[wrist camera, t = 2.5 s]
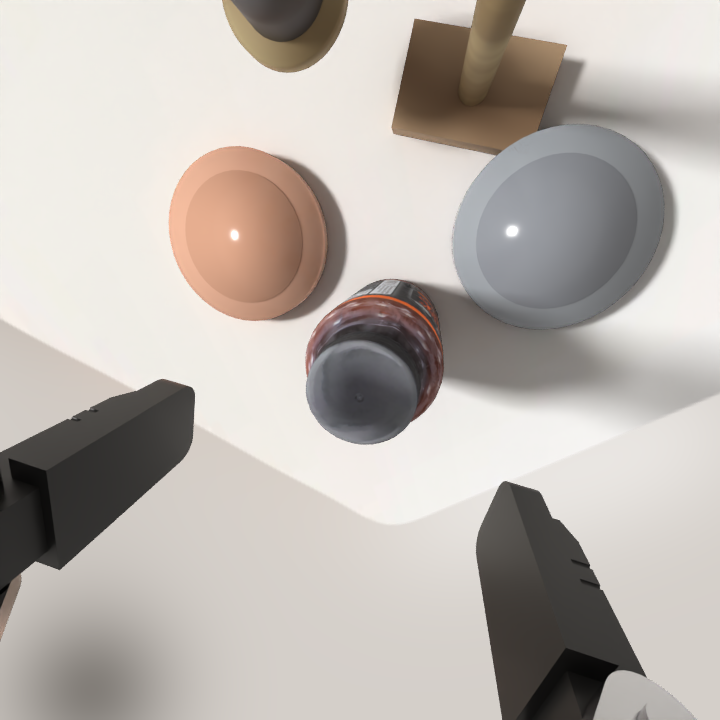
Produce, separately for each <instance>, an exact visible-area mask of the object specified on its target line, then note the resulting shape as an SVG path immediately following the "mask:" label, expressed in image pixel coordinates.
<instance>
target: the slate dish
mask: <svg viewBox="0 0 720 720" xmlns="http://www.w3.org/2000/svg"><path fill="white" fill-rule="evenodd" d="M522 142H523V143H522ZM520 143H521V145H520ZM513 144H514V145H513ZM513 144H512V145H510V146H509V147H507V148H506V149H505V150H503V151H502V152H501V153H499V154H498V155H497V156H496V157H495V158H494V159H493V160H492V161H491V162H490V163H489V164H487V165H486V167H485V168H484V169H483V170H482V171H481V173H480V174H479V175H478V176H477V177H476V179H475V180H474V181H473V183H472V184H471V186H470V187H469V189H468V190H467V192H466V194H465V196H464V198H463V200H462V202H461V204H460V207H459V209H458V212H457V215H456V219H455V223H454V227H453V235H452V254H453V260H454V265H455V268H456V272H457V275H458V277H459V279H460V281H461V284H462V285H463V287H464V288H465V290H466V291H467V293H468V294H469V296H470V297H471V298H472V299H473V300H474V302H475V303H476V304H477V305H478V306H479V307H480V308H482V309H483V310H484V311H485V312H486V313H488V314H489V315H491V316H493V317H494V318H496V319H498V320H500V321H502V322H504V323H507V324H510V325H513V326H516V327H522V328H527V329H554V328H560V327H565V326H569V325H572V324H576V323H579V322H581V321H584V320H586V319H589V318H591V317H593V316H595V315H597V314H598V313H600V312H602V311H604V310H605V309H607V308H608V307H610V306H611V305H613V304H614V303H615V302H616V301H618V300H619V299H620V298H621V297H622V296H623V295H625V294H626V293H627V292H628V291H629V290H630V288H631V287H632V286H633V285H634V284H635V283H636V282H637V281H638V279H639V278H640V277H641V275H642V274H643V273H644V271H645V270H646V268H647V266H648V264H649V263H650V261H651V259H652V257H653V255H654V253H655V250H656V248H657V246H658V243H659V239H660V236H661V233H662V227H663V221H664V197H663V190H662V186H661V183H660V179H659V176H658V174H657V172H656V170H655V168H654V166H653V164H652V163H651V161H650V160H649V158H648V157H647V156H646V154H645V153H644V152H643V151H642V150H641V149H640V148H639V147H638V146H637V145H636V144H635V143H633V142H632V141H631V140H629V139H628V138H626V137H625V136H623V135H621V134H619V133H617V132H615V131H612V130H610V129H606V128H603V127H599V126H594V125H586V124H567V125H561V126H555V127H550V128H547V129H544V130H540V131H537V132H535V133H533V134H530V135H528V136H526V137H523V138H522V139H520V140H518V141H517V142H515V143H513ZM528 144H529V145H528ZM516 149H517V150H516ZM525 152H526V153H525Z"/></svg>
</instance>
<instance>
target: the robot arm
mask: <svg viewBox="0 0 720 720" xmlns="http://www.w3.org/2000/svg"><path fill="white" fill-rule="evenodd" d="M194 405H195V392H194V390H193V388H191V387H189V386H186V385H182V384H179V383H176V382H172V381H169V380H166V379H160V380H157V381H155V382H153V383H152V384H150V385H148V386H146V387H144V388H142V389H140V390H138V391H134V392H130V393H126V394H123V395H119V396H115V397H111V398H109V399H107V400H105V401H103V402H101V403H99V404H97V405H95V406H93V407H91V408H90V410H89V411H87V410H85V411H83V412H81V413H79V414H77V415H75V416H73V417H72V419H71V420H69V419H67V420H65V421H63V422H61V423H59V424H57V425H55V426H53V427H51V428H49V429H47V430H44V431H42V432H40V433H38V434H36V435H35V436H33V437H30V438H29V439H26V440H24V441H22V442H20V443H18V444H16V445H14V446H13V447H10V448H8V449H6V450H4V451H2V452H0V640H1V637H2V635H3V632H4V629H5V627H6V624H7V621H8V618H9V616H10V613H11V610H12V608H13V605H14V602H15V600H16V596H17V594H18V591H19V589H20V585H21V573H22V572H23V571H24V570H25V569H26V568H28V567H29V566H30V565H31V564H33V563H34V562H35V561H36V562H39V563H42V564H45V565H47V566H50V567H53V568H56V569H58V570H60V569H61V568H62V567H64V566H65V565H66V564H67V563H68V562H69V561H70V560H71V559H73V558H74V557H75V556H76V555H77V554H78V553H79V552H80V551H81V550H82V549H84V548H85V547H86V546H87V545H88V544H89V543H90V542H91V541H93V540H94V538H96V537H97V536H98V535H99V534H100V533H101V532H103V531H104V530H105V529H106V528H107V527H108V526H109V525H110V524H112V523H113V522H114V521H115V520H116V519H117V518H118V517H119V516H120V515H122V514H123V513H124V512H125V511H126V510H127V509H128V508H129V507H130V506H132V505H133V504H134V503H135V502H136V501H137V500H138V499H139V498H140V497H142V496H143V495H144V494H145V493H146V492H147V491H148V490H149V489H151V488H152V487H153V486H154V485H155V484H156V483H157V482H158V481H159V480H161V479H162V478H163V477H164V476H165V475H166V474H167V473H168V472H169V471H171V470H172V469H173V468H174V467H175V466H176V465H177V464H178V463H180V462H181V460H182V459H183V458H184V457H185V456H186V454H187V452H188V450H189V448H190V446H191V443H192V439H193V424H194ZM476 555H477V563H478V569H479V576H480V582H481V588H482V594H483V601H484V606H485V613H486V620H487V626H488V632H489V638H490V645H491V651H492V656H493V663H494V669H495V676H496V682H497V689H498V695H499V701H500V708H501V714H502V720H697V719H696V718H695V717H694V715H693V714H692V713H691V712H690V711H688V709H687V708H686V707H685V706H684V705H683V704H682V703H681V702H679V701H678V700H677V699H676V698H675V697H674V696H673V695H671V694H670V693H669V692H668V691H666V690H665V689H664V688H662V687H661V686H659V685H658V684H656V683H655V682H653V681H652V680H650V679H648V678H647V677H646V675H645V673H644V671H643V669H642V667H641V665H640V663H639V661H638V659H637V657H636V655H635V653H634V651H633V649H632V647H631V645H630V643H629V641H628V639H627V637H626V635H625V633H624V631H623V629H622V628H621V625H620V624H619V621H618V619H617V617H616V616H615V614H614V612H613V610H612V608H611V606H610V604H609V602H608V600H607V598H606V596H605V594H604V592H603V590H600V584H599V582H598V580H597V578H596V576H595V575H594V572H593V570H592V569H590V564H589V562H588V560H587V558H586V556H585V554H584V552H583V550H582V548H581V546H580V545H579V542H578V541H577V540H576V539H575V538H574V536H573V535H572V534H571V533H570V532H569V531H568V530H567V529H566V527H565V526H564V525H563V524H562V523H561V522H560V520H557V519H553V518H552V517H551V515H550V512H549V510H548V508H547V506H546V504H545V501H544V499H543V497H542V495H541V493H540V492H539V491H537V490H534V489H531V488H527V487H524V486H520V485H517V484H513V483H510V482H507V481H504V482H502V483H501V485H500V486H499V488H498V490H497V492H496V495H495V496H494V499H493V501H492V503H491V505H490V507H489V510H488V512H487V514H486V516H485V518H484V520H483V523H482V525H481V527H480V530H479V533H478V537H477V544H476Z"/></svg>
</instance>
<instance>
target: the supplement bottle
mask: <svg viewBox="0 0 720 720" xmlns="http://www.w3.org/2000/svg"><path fill="white" fill-rule="evenodd" d="M443 370H444V363H443V348H442V341H441V335H440V326H439V319H438V314H437V312H436V309H435V307H434V305H433V303H432V302H431V300H430V299H429V297H428V296H427V295H426V294H425V293H424V292H423V291H422V290H421V289H420V288H418V287H417V286H415V285H413V284H412V283H409V282H406V281H403V280H398V279H384V280H379V281H376V282H373V283H371V284H369V285H367V286H365V287H364V288H362V289H361V290H360V291H358V292H357V293H355V294H354V295H353V296H351V297H350V298H349V299H347V300H346V301H344V302H343V303H342V304H340V305H339V306H337V307H336V308H335V309H334V310H332V311H331V312H330V313H329V314H327V315H326V316H325V317H324V318H323V319H322V321H321V322H320V323H319V324H318V325H317V327H316V329H315V330H314V331H313V333H312V335H311V338H310V341H309V343H308V346H307V351H306V373H307V382H306V396H307V401H308V404H309V407H310V410H311V412H312V414H313V415H314V416H315V418H316V419H317V421H318V422H319V423H320V425H321V426H322V427H323V428H324V429H325V430H327V431H329V432H330V433H331V434H333V435H334V436H336V437H337V438H340V439H342V440H345V441H347V442H351V443H355V444H376V443H381V442H384V441H387V440H390V439H391V438H394V437H395V436H397V435H398V434H399V433H401V432H402V431H403V430H404V429H405V428H406V427H407V426H408V424H409V423H410V422H412V421H413V420H415V419H416V418H418V417H419V416H420V415H421V414H423V413H424V412H425V411H426V410H427V408H428V407H429V406H430V405H431V404H432V402H433V401H434V399H435V397H436V395H437V393H438V391H439V388H440V385H441V383H442V376H443Z"/></svg>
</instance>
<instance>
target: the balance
mask: <svg viewBox="0 0 720 720" xmlns="http://www.w3.org/2000/svg"><path fill="white" fill-rule="evenodd" d="M525 1H526V0H477V2H476V7H475V12H474V17H473V21H472V26H471V28H466V27H460V26H454V25H449V24H443V23H437V22H431V21H426V20H420V19H415V20H414V24H413V29H412V34H411V38H410V43H409V48H408V52H407V57H406V62H405V66H404V71H403V76H402V81H401V85H400V90H399V95H398V99H397V104H396V109H395V113H394V118H393V123H392V130H393V133H394V134H398V135H402V136H407V137H412V138H417V139H422V140H427V141H431V142H436V143H441V144H446V145H451V146H455V147H460V148H465V149H470V150H475V151H480V152H484V153H489V154H494V155H498V154H499V153H501V152H502V151H503V150H505V149H506V148H507V147H509V146H510V145H512V144H513V143H515V142H517V141H518V140H520V139H522V138H523V137H526V136H528V135H530V134H533V133H535V132H537V130H538V127H539V125H540V122H541V119H542V116H543V113H544V110H545V107H546V104H547V102H548V99H549V96H550V93H551V90H552V87H553V84H554V81H555V79H556V76H557V73H558V70H559V67H560V64H561V61H562V58H563V56H564V53H565V50H566V47H567V45H564V44H558V43H552V42H546V41H541V40H535V39H529V38H523V37H518V36H512V33H513V30H514V28H515V26H516V23H517V21H518V18H519V16H520V14H521V11H522V9H523V6H524V4H525ZM222 2H223V7H224V10H225V14H226V17H227V20H228V22H229V25H230V27H231V29H232V31H233V33H234V35H235V36H236V38H237V39H238V41H239V42H240V43H241V45H242V46H243V47H244V48H245V49H246V50H247V51H248V52H249V53H250V54H251V55H252V56H253V57H254V58H255V59H256V60H257V61H258V62H259V63H261V64H262V65H264V66H265V67H267V68H270V69H272V70H275V71H278V72H286V73H289V72H297V71H301V70H304V69H306V68H309V67H310V66H312V65H314V64H315V63H317V62H318V61H319V60H320V59H322V58H323V57H324V56H325V55H326V53H327V52H328V51H329V50H330V48H331V47H332V46H333V44H334V43H335V41H336V39H337V37H338V35H339V33H340V31H341V28H342V26H343V23H344V20H345V16H346V11H347V6H348V0H222ZM522 143H523V142H522ZM513 145H514V144H513ZM520 145H521V143H520ZM528 145H529V144H528ZM516 150H517V149H516ZM525 153H526V152H525Z"/></svg>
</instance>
